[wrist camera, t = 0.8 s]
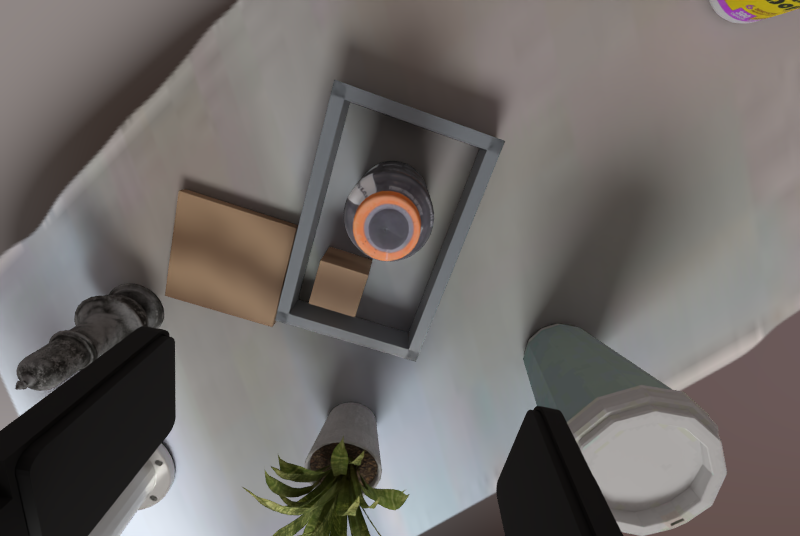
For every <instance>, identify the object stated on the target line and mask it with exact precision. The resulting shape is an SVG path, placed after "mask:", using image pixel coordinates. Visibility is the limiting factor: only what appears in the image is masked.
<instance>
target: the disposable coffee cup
mask: <svg viewBox="0 0 800 536" xmlns="http://www.w3.org/2000/svg"><path fill="white" fill-rule="evenodd" d="M523 360H524V363H525V367H526V370H527V374H528V377H529V381H530V384H531V387H532V391H533V394H534V397H535V401H536V404H537V406H543V407H548V408H553V409H557V410H560V411H561V412H562V414H563V416H564V418H565V420H566V422H567V424H568V426H569V428H570V430H571V432H572V434H573V436H574V438H575V440H576V442H577V444H578V446H579V448H580V450H581V452H582V454H583V456H584V458H585V460H586V462H587V464H588V466H589V469H590V471H591V473H592V475H593V476H594V478H595V479H596V481H597V483H598V485H599V487H600V489H601V492H602V494H603V496H604V498H605V500H606V502H607V504H608V506H609V508H610V510H611V512H612V514H613V516H614V518H615V520H616V522H617V524H618V526H619V528H620V530H621V532H625V533H630V534H635V535H640V536H645V535H649V534H653V533H657V532H661V531H665V530H669V529H673V528H675V527H677V526H680V525H682V524H684V523H687V522H688V521H690V520H691V519H692V518H694V517H695V516H697V515H699V514H700V513H702V512H703V511H704V510H706V509H707V508H709V507H710V506H712V504H713V502H714V500H715V498H716V496H717V493H718V491H719V489H720V487H721V485H722V483H723V481H724V478H725V476H726V474H727V470H726V464H725V459H724V454H723V448H722V443H721V439H720V438H719V434H718V426H717V425H716V424H715V423H714V422H713V421H712V420H711V419H710V418H709V415H708V414H707V413H706V412H705V411H704V410H703V409H701V407H699V405H697V404H696V403H695V402H694V401H693V400H692V399H691V398H690V397H688V396H687V395H686V394H685V393H684V392H682V391H676V390H672V389H671V388H669V387H668V386H666V385H665V384H663V383H662V382H660V381H659V380H657V379H656V378H654V377H653V376H651V375H650V374H648V373H647V372H645V371H644V370H642V369H641V368H639V367H638V366H636V365H635V364H633V363H632V362H630V361H629V360H627V359H626V358H624V357H623V356H621V355H620V354H618V353H617V352H615V351H614V350H612V349H611V348H609V347H608V346H606V345H605V344H603V343H602V342H600V341H599V340H597V339H596V338H594V337H593V336H591V335H590V334H588V333H587V332H585V331H584V330H582V329H581V328H580V327H575V326H570V325H564V324H558V323H557V324H554V325H551V326H548V327H544V328H541V329H540V330H539V331H538V332H537V333H536V334H535V335H533V336H532V337H531V338H530V339H529V340H528V343H527V346H526V350H525V353H524V358H523Z"/></svg>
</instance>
